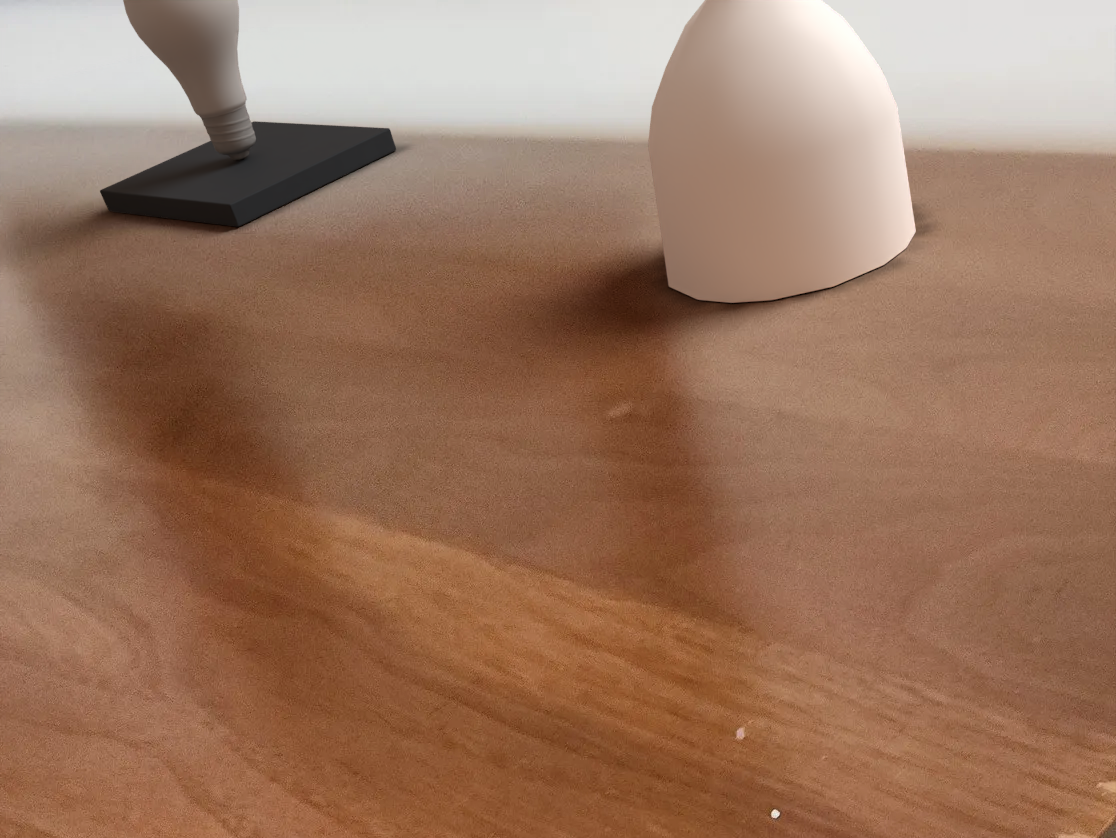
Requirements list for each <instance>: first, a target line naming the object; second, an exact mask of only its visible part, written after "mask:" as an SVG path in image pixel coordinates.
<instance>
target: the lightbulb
mask: <svg viewBox="0 0 1116 838" xmlns="http://www.w3.org/2000/svg"><path fill="white" fill-rule="evenodd" d="M122 2H123V5H124V10H125V14H126V16H127V18H128V22H129V24H130V25H131V27H132V28H133V30H134V32H135V33H136V35H137V36H138V38H139V39H140V40H141V41H142V43H143V44H144V45H145V46H146V47H147V48H148V49H149V50H150V51H151V52H152V53H153V55H154V56H156V58H157V59H158V60H160V62H161V63H162V64H164V66H165V67H166V68H168V70H169V72H170V73H171V74H172V75H173V76H174V78H175V79H176V81H177V82H178V83H179V85H180V86H181V88H182V90H183V92H184V94H185V95H186V97H187V99H188V101H189V103H190V105H191V108H192V109H193V111H194V113H195V114H196V115H197V116H198V117H200V119H201V121H202V125H203V126H204V127H205V130H206V133H207V135H208V137H209V141H211V142H212V143H213V146H214V148H215V150H216V151H217V152H218V153H220V154H224V155H228V156H230V157H231V158H232V159H234V160H240V159H243V158H245V157H247V156H248V155H249V149H250V148H251V147H252V146H253V145H254V144H255V142H256V137H255V132H254V130H253V127H252V123H251V122H252V121H251V117H250V114H249V111H248V109H247V105H246V104H247V103H246V102H247V100H248V99H247V94H246V91H245V88H244V85H243V82H242V77H241V72H240V66H239V55H238V44H239V32H240V6H239V0H122Z"/></svg>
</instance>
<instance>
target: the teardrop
mask: <svg viewBox="0 0 1116 838" xmlns="http://www.w3.org/2000/svg"><path fill="white" fill-rule="evenodd" d="M650 112H651V113H650V122H649V131H648V142H647V148H648V155H649V161H650V169H651V175H652V176H651V177H652V182H653V189H654V195H655V202H656V208H657V216H658V222H659V223H658V224H659V229H660V236H661V242H662V243H661V244H662V250H663V257H664V262H665V263H664V264H665V271H666V278H667V286H668V287H669V288H671V289H673V290H675V291H678V292H680V293H682V294H684V295H687V296H689V297H691V298H693V299H695V300H697V301H698V300H699V301H707V302H720V303H730V304H732V303H733V304H734V303H748V302H763V301H764V302H765V301H774V300H778V299H782V298H784V299H785V298H788V297H792V296H798V295H800V294H805V293H811V292H815V291H821V290H824V289H828V288H832V287H835V286H838V285H840V284H842V283H845V282H847V281H850V280H852V279H854V278H857V277H859V276H861V275H863V274H866V273H868V272H870V271H873V270H875V269H877V268H880V267H883V266H884V265H886V264H887V263H888V262H890V261H892V260H893V259H894V258H895V257H897V256H898V255H899V254H901V253H902V252H903V251H904V250H907V248H908V246H909V244H910V243H911V241H912V239H913V238H914V236H915V234H916V232H917V231H916V224H915V223H916V222H915V216H914V210H913V203H912V197H911V196H912V195H911V189H910V182H909V177H908V176H909V175H908V169H907V163H906V155H905V149H904V143H903V142H904V141H903V136H902V128H901V122H900V115H899V108H898V104H897V102H896V99H895V97H894V95H893V92H892V90H891V87H890V85H889V83H888V80H887V78H886V76H885V74H884V71H883V69H882V67H881V66H880V64H879V63H878V62H877V60H876V59H875V57H874V56H873V54H872V53H871V52H870V51H869V49H868V48H867V47H866V45H865V43H864V42H863V41H862V39H861V38H860V36H859V35H858V34H857V31H855V30H854V28H853V27H852V26H851V25H850V24H849V22H848V21H847V20H846V18H845V17H844V16H842V15H841V13H839V12H837V11H836V10H835V9H833V7H831V6H830V5H829V4H828V3H826V2H825V1H823V0H704V1H703V2H702V3H701V4H700V6H699V7H698V8H697V10H696V11H695V12H694V13H693V15H692V16H691V17H690V19H689V20H688V21H687V22H686V23H685V25H684V27H683V29H682V31H681V33H680V36H679V38H678V40H677V42H676V44H675V46H674V49H673V51H672V53H671V55H670V57H669V60H668V61H667V63H666V65H665V68H664V70H663V74H662V76H661V79H660V82H659V86H658V88H657V91H656V94H655V97H654V100H653V102H652V105H651V111H650Z"/></svg>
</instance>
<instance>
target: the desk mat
mask: <svg viewBox="0 0 1116 838" xmlns="http://www.w3.org/2000/svg"><path fill="white" fill-rule="evenodd" d="M251 123H252V127H253V130H254V132H255V137H256V142H255V144H254V145H253V146H252V147H251V148H250V149H249V155H248V156H247V157H245V158H243V159H240V160H234V159H232V158H231V157H230V156H228V155H224V154H220V153H218V152H217V151H216V150H215V148H214V146H213V143H212V142H211V140H209V141H207V142H205V143H202V144H199V145H197V146H195V147H194V148H191V149H189V150H187V151H184V152H182V153H180V154H178V155H175V156H172V157H171V158H168V159H167V160H164V161H162V162H160V163H158V164H156V165H153V166H151V167H149V168H146V169H144V170H142V171H140V172H138V173H135V174H133V175H131V176H128V177H127V178H124V179H122V180H119V181H117V182H115V183H113V184H111V185H108V186H107V187H106V186H105V187H104V188H102V189H100V190H99V193H100V195H101V197H102V199H103V203H104V204H105V206H106V208H107V210H108V212H111V213H112V212H113V213H120V214H130V215H137V216H146V217H155V218H162V219H163V218H164V219H171V220H179V221H185V222H186V221H187V222H195V223H204V224H210V225H221V226H228V227H235V228H239V227H242V226H243V225H246V224H248V223H250V222H253V221H254V220H256V219H258V218H260V217H262V216H264V215H267V214H269V213H270V212H273V211H274V210H276V209H279V208H282V207H283V206H285V205H287V204H289V203H291V202H294V201H295V200H297V199H299V198H301V197H303V196H306V195H307V194H310V193H312V192H313V191H316V190H317V189H319V188H322V187H324V186H326V185H328V184H330V183H332V182H334V181H336V180H338V179H340V178H342V177H345V176H346V175H348V174H350V173H352V172H354V171H357V170H359V169H361V168H363V167H365V166H367V165H369V164H371V163H373V162H375V161H377V160H379V159H381V158H383V157H385V156H387V155H390V154H392V153H393V152H396V150H397V147H396V144H395V141H394V138H393V134H392V131H391V129H390V128H389V127H371V126H369V127H368V126H355V125H354V126H352V125H351V126H350V125H335V124H334V125H333V124H332V125H331V124H316V123H315V124H314V123H313V124H311V123H294V122H293V123H292V122H274V121H273V122H272V121H255V120H254V121H251Z"/></svg>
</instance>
